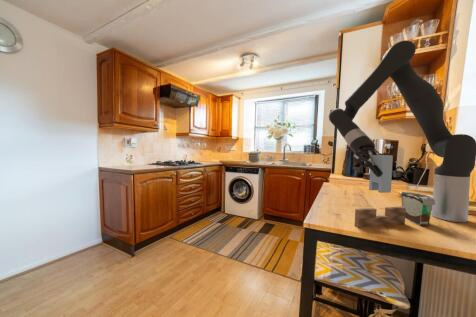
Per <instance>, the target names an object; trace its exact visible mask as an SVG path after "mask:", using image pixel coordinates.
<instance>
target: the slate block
mask: <svg viewBox="0 0 476 317" xmlns="http://www.w3.org/2000/svg"><path fill="white" fill-rule="evenodd" d="M371 156H372V158H373V161H374V162H375V164H376V165H377V166H378V168H379V169H380V170H381V171H382V172H383V174H382V175H381V176H380V177H377V176H376V175H375V174H374V173H373V172H372V170H371V169H369V182H368V184H369V185H368V190H369V191H378V193H380V194H382V193H384V194H387V193H389V194H390V193H392V177H393V175H392V171H393V160H394V158H393V157H394V156H393V155H389V154H387V155H371Z"/></svg>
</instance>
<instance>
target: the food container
mask: <svg viewBox="0 0 476 317" xmlns="http://www.w3.org/2000/svg"><path fill="white" fill-rule="evenodd" d="M400 197H401V206H402V207H405V208H406V211H405V220H407V221H409V222H411V223H413V224H415V225H417V226H419V227H428V226H429V225H430V220H431V216H432V205H435V200H434V199H433V196H431V195H427V194H421V193H417V192H408V191H402V192H401V193H400Z"/></svg>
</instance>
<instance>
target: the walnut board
mask: <svg viewBox="0 0 476 317" xmlns="http://www.w3.org/2000/svg"><path fill="white" fill-rule="evenodd" d="M405 211H406V208H405V207H402V205H401V206H386V207H384V215H377V209H376V208H374V207H367V208H366V207H365V208H355V210H354V226H355V227H357V228H367V227H380V226H381V227H382V226H392V225H404V224H405V223H406V219H405Z"/></svg>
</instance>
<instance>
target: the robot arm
mask: <svg viewBox="0 0 476 317" xmlns="http://www.w3.org/2000/svg"><path fill="white" fill-rule="evenodd" d="M416 48H417V47H416V45H415V43H414V42H413V41H411V40H401V41H398V42H396V43H394V44H393V45H392V46H390V47H389V48H388V50H387V51H386V52H384V55H383V56H382V57H381V62H380V63H379V64H378V65H377V67H376V68H374V70H373V71H372V72H371V74H370V75H368V76H367V77H366V79H364V80H363V82H362V83H360V85H358V87H356V88H355V90H353V92H352V93H351V94H350V95H349V96H348V97H347V99H346V100H345V101H344V106H345V108H344V109H342V108H339V107H338V108H337V107H336V108H333V109H332V110H331V111H330V112H329V114H328V120H329V122H330V123H331V124H332V125H333V126H334V127H335V128H336V129H337V130H338V132H339V133H340V135H341V137H342V138H343V139H344V141H345V142H346V144H347V145H348V147H349V149H351V151H352V152H353V156H352V158H353V159H354V160H355V161H356V162H357V163H358V164H359V165H361V166H362V167H363V168H365V169H366V168H368V169H369V170H370V169H371V170H372V172H373V173H374V174H375V175H376V176H377V177H380V176H381V175H382V174H383V172H382V171H381V170H380V169H379V168H378V166H377V165H376V164H375V162H374V161H373V158H372V156H371V155H388V153H387V152H383V153H380V151H378V150H377V149H376V144H375V142H373V140H372V139H371V138H370V137H369V135H368V134H366V133H365V131H364V130H362V129H361V128H360V127H359V125H357V123H356V122H354V121H353V120H354V119H355V117H356V115H357V114H358V112H359V110H360V109H361V108H363V106H364V105H365V104H366V103H367V102H368V101H369V100H370V99H371V97H372V96H373V95H374V94H375V93H376V92H377V91H378V89H380V87H381V86H382V85H383V84H384V83H385V82H386V81H387V79H389V78H391V80H392V81H393V83H394V84H395V85H396V87H397V89H398V90H399V93H400V94H401V96H402V98H403V100H404V101H405V103H406V105H407V107H408V108H409V110H410V113H412V115H413V116H414V117H415V120H416V121H417V124H418V125H419V126H420V128H421V130H422V132H423V133H424V137H425V138H426V141H427V143H428V146H429V148H430V150H431V151H432V153H433V154H434V155H435V156H437V157H439V158H442V162H441V164H440V165H438V166H436V167H435V168H434V171H433V172H434V174H433V175H434V176H433V188H432V189H433V192H432V197H433V199H434V200H435V205H432V210H431V216H432V217H434V218H437V219H440V220H444V221H448V222H455V223H468V221H469V205H470V184H471V174H472V172H473V171H474V168H475V166H476V139H475V138H474V137H473V136H471V135H469V134H464V133H460V134H459V133H458V134H457V133H456V134H452V133H451V131H450V130H449V128H448V127H447V125H446V123H445V121H444V108H445V107H444V101H443V99H442V97H441V96H440V94H439V93H438V91H437V89H436V87H434V85H432V84H431V83H430V82H428V81H427V80H426V79H424V78H422V77H421V76H420V75H419V74H417V72H416V71H415V69H414V68H413V66H412V64H411V62H410V61H411V60H412V59H413V58H414V56H415V54H416ZM394 175H395V172H394V171H393V170H392V176H394Z"/></svg>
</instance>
